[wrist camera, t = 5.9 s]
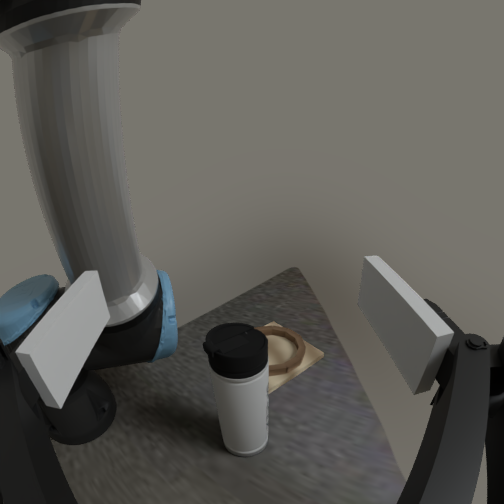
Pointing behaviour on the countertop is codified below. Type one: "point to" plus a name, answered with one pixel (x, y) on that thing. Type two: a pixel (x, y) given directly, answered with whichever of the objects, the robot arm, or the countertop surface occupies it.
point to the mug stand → (287, 354)
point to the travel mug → (240, 385)
